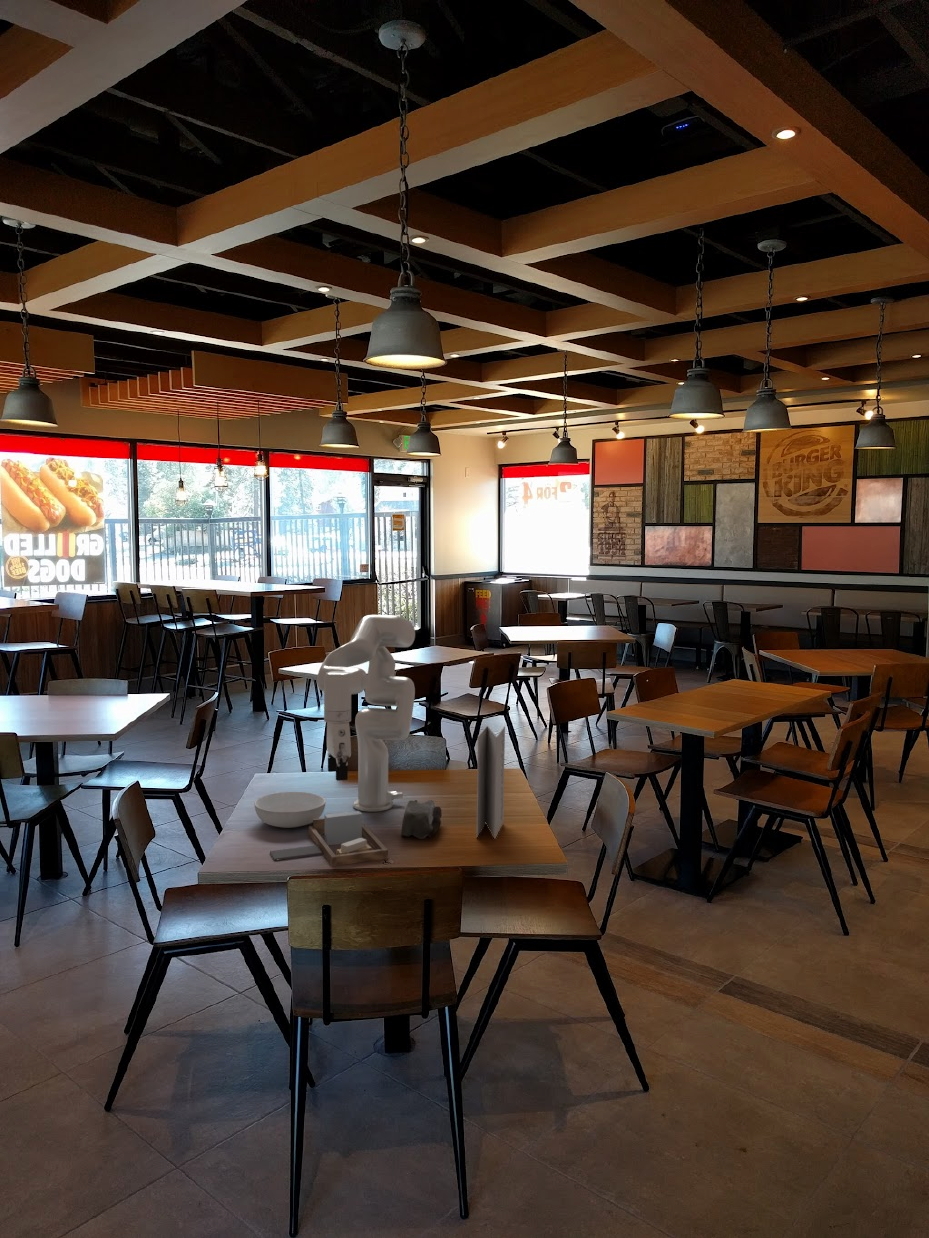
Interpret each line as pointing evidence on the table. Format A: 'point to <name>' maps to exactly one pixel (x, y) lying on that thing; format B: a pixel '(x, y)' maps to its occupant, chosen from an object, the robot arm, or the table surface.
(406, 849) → the table surface
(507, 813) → the table surface
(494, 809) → the brochure
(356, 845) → the offcut upper
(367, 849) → the offcut lower
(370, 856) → the wooden tray
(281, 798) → the serving bowl
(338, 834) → the light grey block
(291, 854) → the mat
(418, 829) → the rock
